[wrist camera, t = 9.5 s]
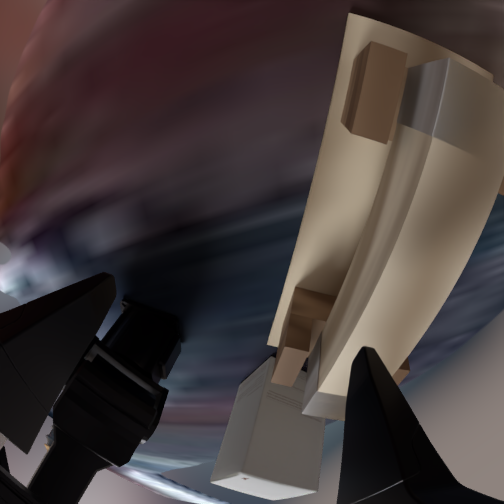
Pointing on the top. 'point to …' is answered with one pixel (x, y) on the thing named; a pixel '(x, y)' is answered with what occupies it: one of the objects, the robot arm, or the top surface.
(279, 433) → the supplement box
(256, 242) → the top surface
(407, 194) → the rail
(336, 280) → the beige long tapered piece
